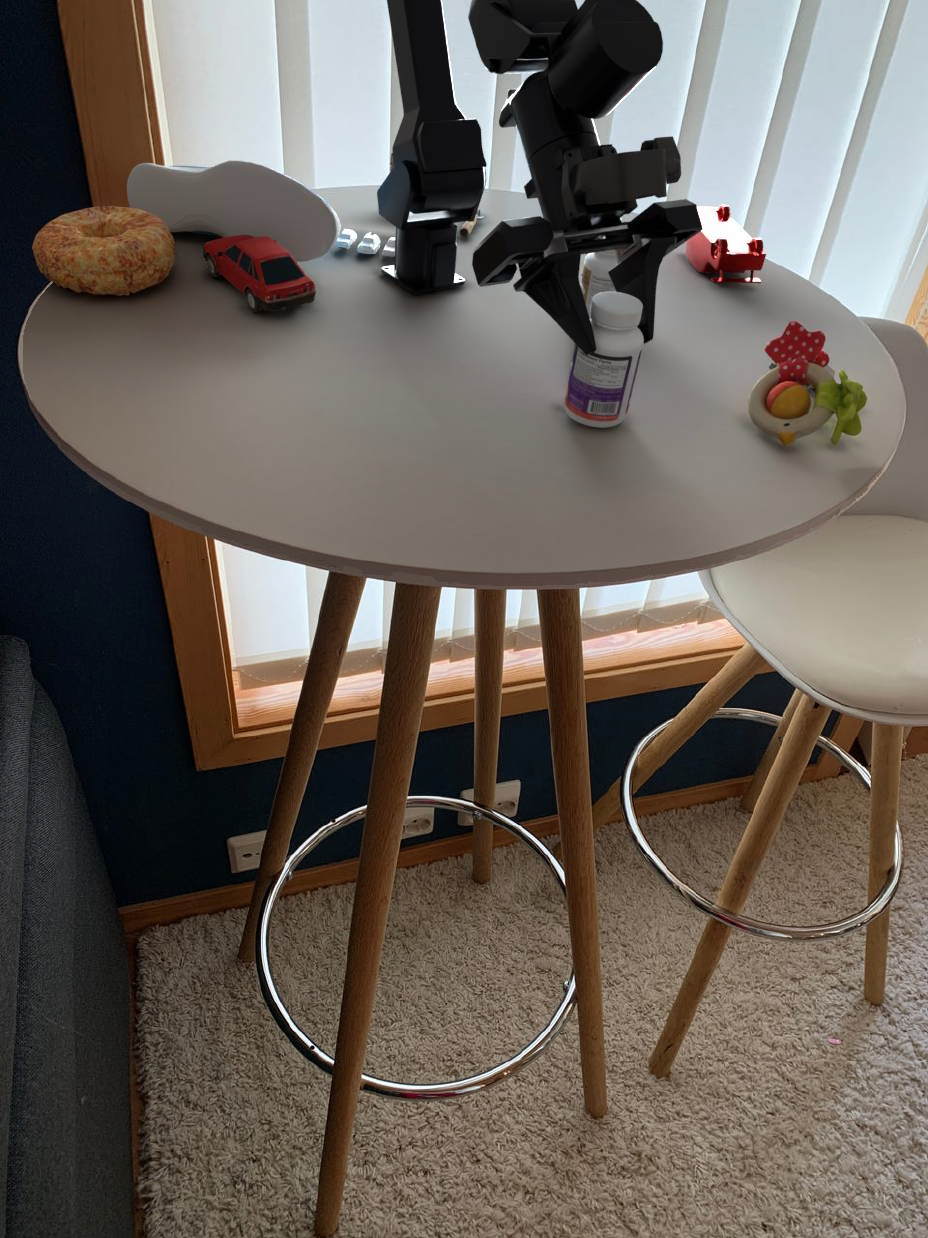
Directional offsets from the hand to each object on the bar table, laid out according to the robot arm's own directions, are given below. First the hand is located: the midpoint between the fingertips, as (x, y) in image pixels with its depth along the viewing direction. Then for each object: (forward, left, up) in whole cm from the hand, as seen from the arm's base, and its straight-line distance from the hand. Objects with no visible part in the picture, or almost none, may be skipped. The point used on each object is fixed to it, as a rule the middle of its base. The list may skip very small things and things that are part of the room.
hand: (619, 347), depth 73 cm
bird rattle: (+7, +11, -6) cm, 14 cm away
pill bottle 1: (-17, +15, -7) cm, 24 cm away
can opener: (-45, +16, -6) cm, 48 cm away
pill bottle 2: (-1, 0, -7) cm, 7 cm away
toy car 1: (-36, -13, -7) cm, 39 cm away
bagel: (-45, -25, -2) cm, 51 cm away
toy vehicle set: (-40, +2, -7) cm, 41 cm away
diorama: (+6, +20, -5) cm, 22 cm away
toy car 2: (-21, +37, -2) cm, 42 cm away
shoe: (-45, -12, -2) cm, 47 cm away
